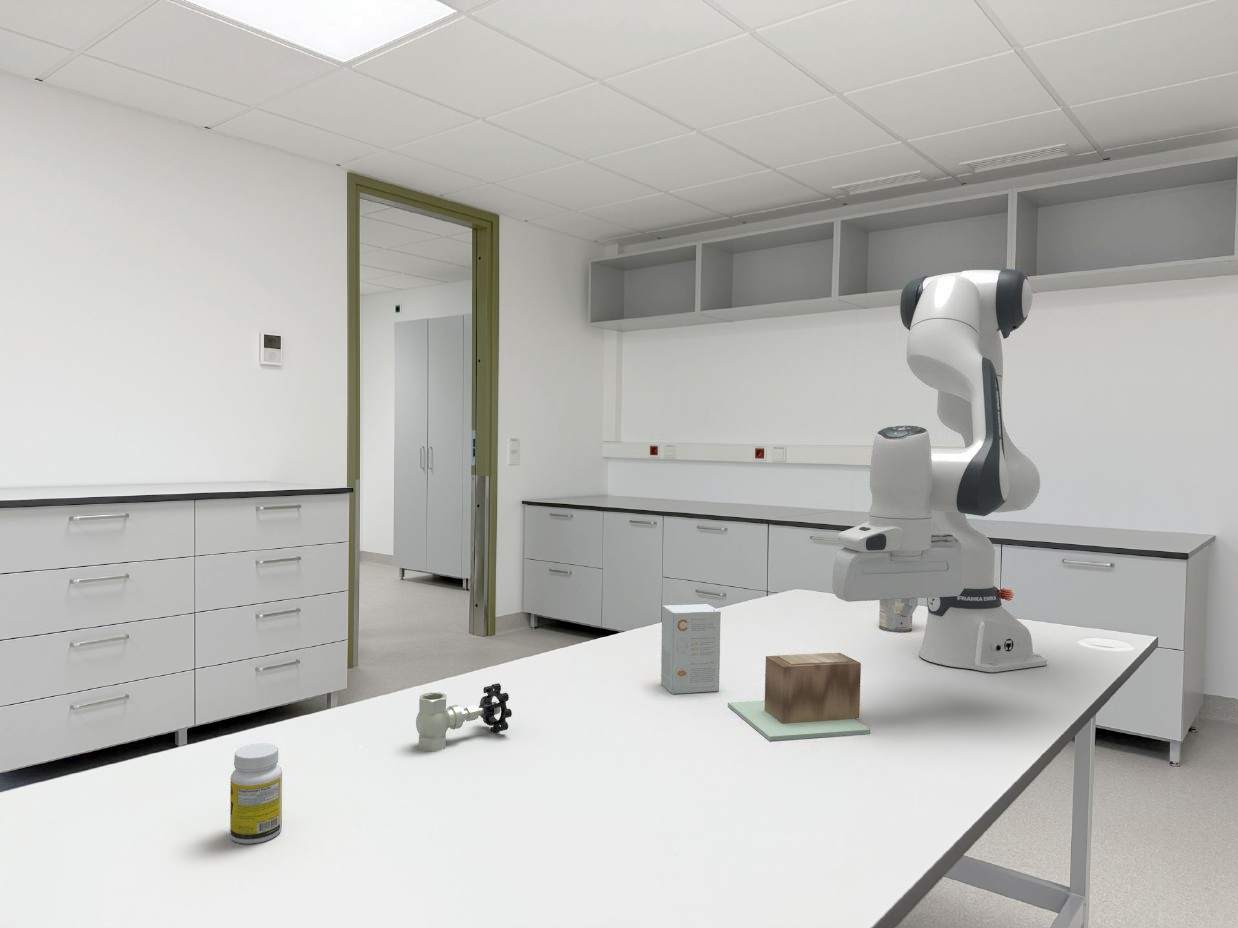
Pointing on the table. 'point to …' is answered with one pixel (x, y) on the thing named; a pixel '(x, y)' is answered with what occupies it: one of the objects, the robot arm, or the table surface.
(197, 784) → the table surface
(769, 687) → the walnut block
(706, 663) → the small box
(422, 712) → the valve
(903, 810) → the table surface
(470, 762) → the table surface
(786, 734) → the green glass pane
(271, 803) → the supplement bottle
